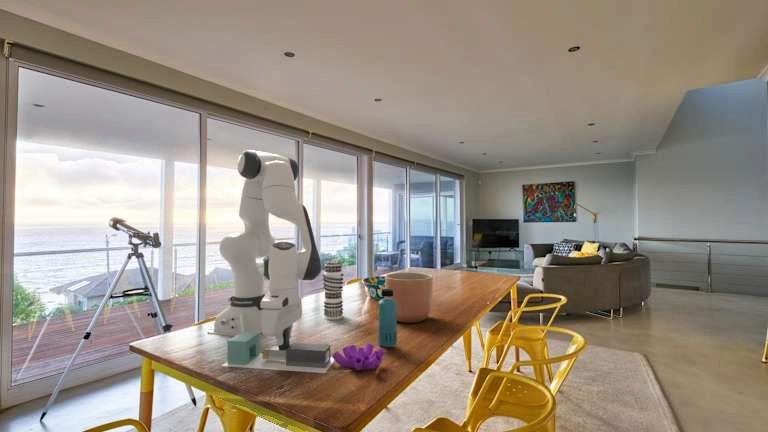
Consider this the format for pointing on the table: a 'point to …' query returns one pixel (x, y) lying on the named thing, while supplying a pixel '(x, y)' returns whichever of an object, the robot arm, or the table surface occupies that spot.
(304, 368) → the mounting board
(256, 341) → the socket block
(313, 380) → the table surface
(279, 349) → the sliding bolt
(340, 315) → the decorative candle
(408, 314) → the planter
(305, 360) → the outer sleeve
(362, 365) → the purple coral
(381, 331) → the beverage bottle
